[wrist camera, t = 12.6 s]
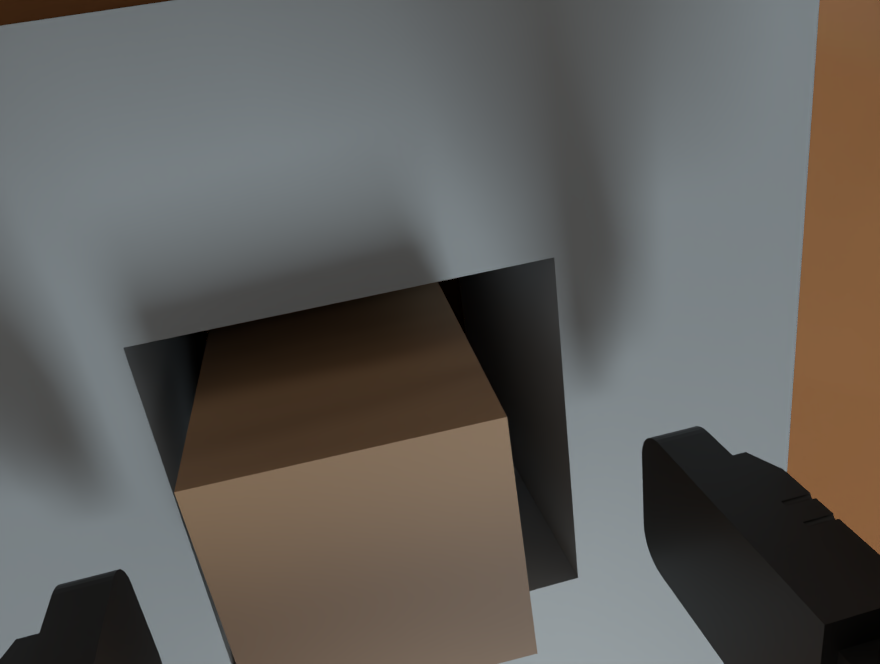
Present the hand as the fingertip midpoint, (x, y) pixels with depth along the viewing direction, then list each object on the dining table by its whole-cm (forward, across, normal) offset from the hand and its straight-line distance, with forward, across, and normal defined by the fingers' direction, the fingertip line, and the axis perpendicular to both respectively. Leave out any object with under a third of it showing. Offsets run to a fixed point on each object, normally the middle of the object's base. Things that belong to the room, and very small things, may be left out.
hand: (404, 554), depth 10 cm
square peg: (+9, 0, 0) cm, 9 cm away
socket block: (+9, 0, 0) cm, 9 cm away
